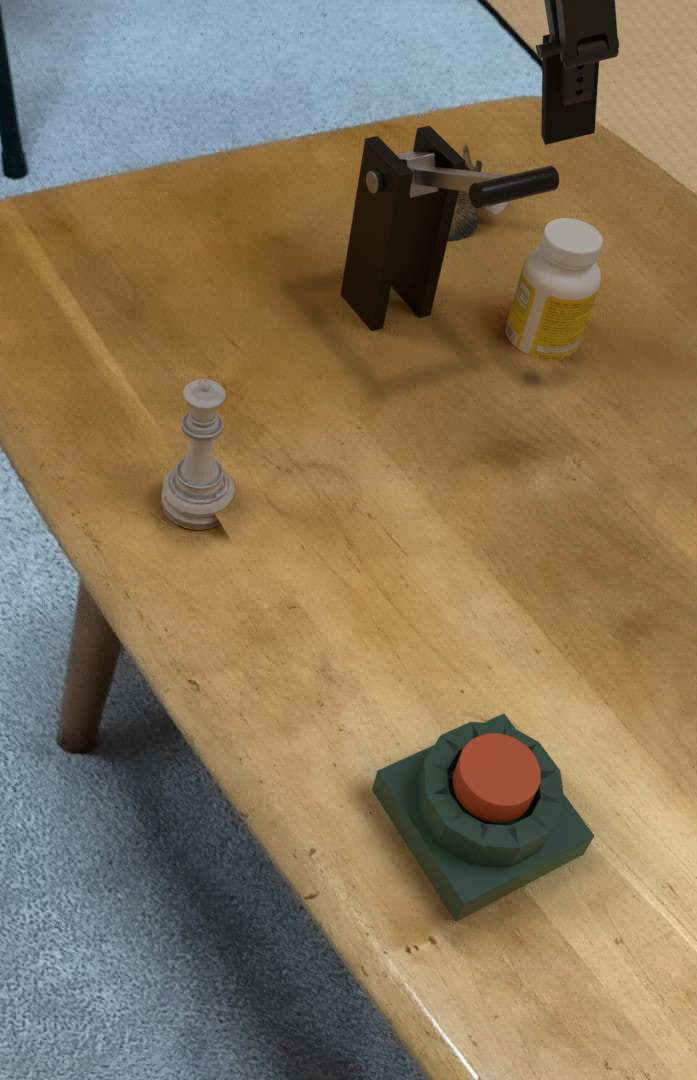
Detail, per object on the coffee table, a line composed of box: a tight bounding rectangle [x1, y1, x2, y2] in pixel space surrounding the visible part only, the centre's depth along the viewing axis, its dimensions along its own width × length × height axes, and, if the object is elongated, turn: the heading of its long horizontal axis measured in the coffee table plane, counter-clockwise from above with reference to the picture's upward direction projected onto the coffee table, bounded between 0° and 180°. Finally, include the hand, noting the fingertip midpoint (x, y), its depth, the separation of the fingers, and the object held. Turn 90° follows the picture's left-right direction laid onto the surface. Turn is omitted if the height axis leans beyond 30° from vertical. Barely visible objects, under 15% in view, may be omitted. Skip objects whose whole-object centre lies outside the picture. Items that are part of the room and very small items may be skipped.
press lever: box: [395, 150, 560, 210], centre depth 76 cm, size 13×6×2 cm, turn 30°
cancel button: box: [453, 733, 541, 823], centre depth 60 cm, size 4×4×2 cm
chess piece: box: [161, 378, 235, 531], centre depth 71 cm, size 4×4×10 cm
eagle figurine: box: [447, 144, 511, 243], centre depth 95 cm, size 8×7×9 cm
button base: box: [371, 713, 595, 922], centre depth 62 cm, size 8×8×4 cm
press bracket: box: [340, 125, 466, 332], centre depth 84 cm, size 12×8×14 cm, turn 30°
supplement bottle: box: [504, 217, 604, 361], centre depth 86 cm, size 5×5×10 cm
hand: (534, 49), depth 69 cm, fingers open, 13 cm apart
